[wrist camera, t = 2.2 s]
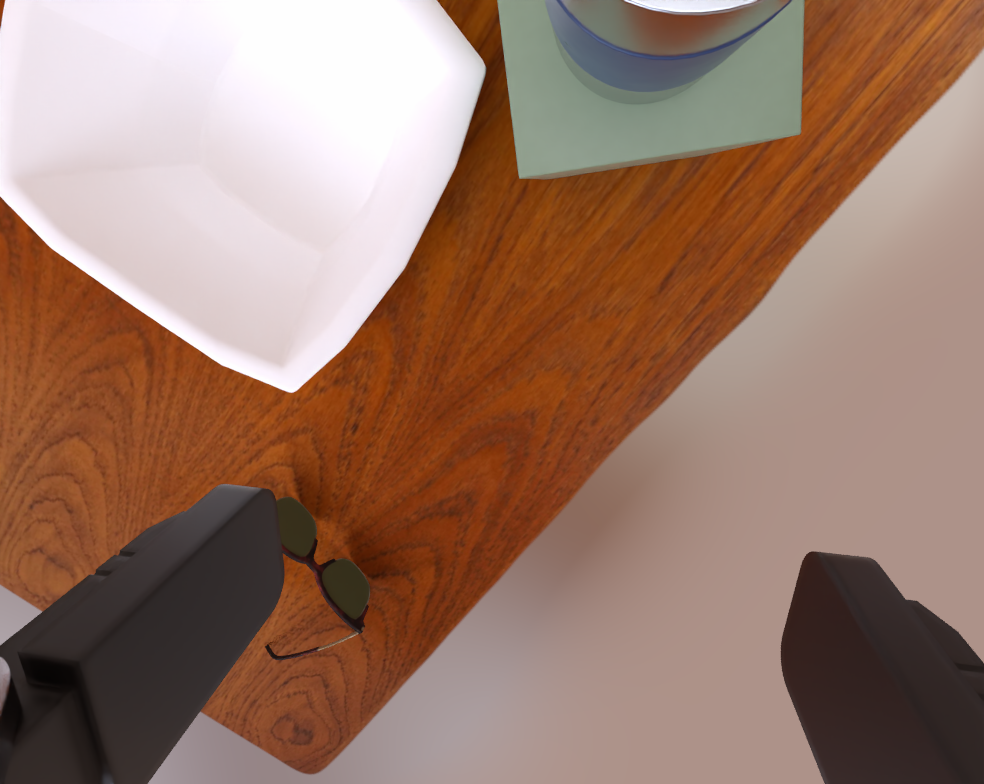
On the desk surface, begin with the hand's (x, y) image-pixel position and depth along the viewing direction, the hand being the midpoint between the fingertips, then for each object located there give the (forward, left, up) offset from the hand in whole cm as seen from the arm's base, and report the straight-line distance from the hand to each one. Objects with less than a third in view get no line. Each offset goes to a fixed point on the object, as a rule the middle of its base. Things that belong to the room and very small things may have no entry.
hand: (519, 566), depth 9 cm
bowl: (+18, -11, -34) cm, 40 cm away
